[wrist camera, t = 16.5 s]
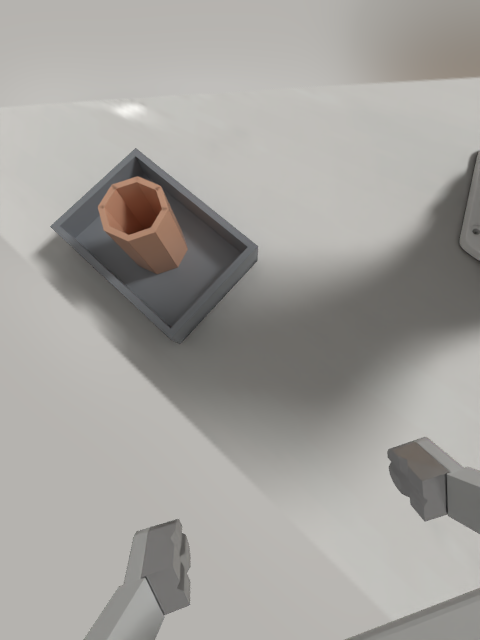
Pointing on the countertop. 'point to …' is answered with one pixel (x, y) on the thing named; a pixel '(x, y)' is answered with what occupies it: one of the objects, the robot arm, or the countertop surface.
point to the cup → (143, 224)
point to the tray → (174, 285)
